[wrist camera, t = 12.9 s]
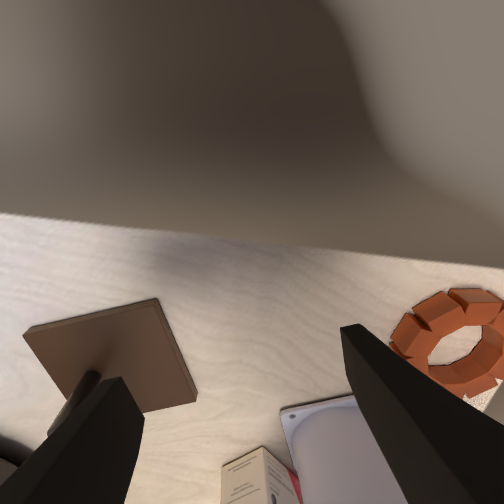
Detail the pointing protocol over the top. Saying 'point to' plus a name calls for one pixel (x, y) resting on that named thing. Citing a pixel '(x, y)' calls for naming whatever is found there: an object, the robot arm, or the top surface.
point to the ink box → (259, 481)
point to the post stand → (114, 357)
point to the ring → (445, 322)
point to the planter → (6, 470)
